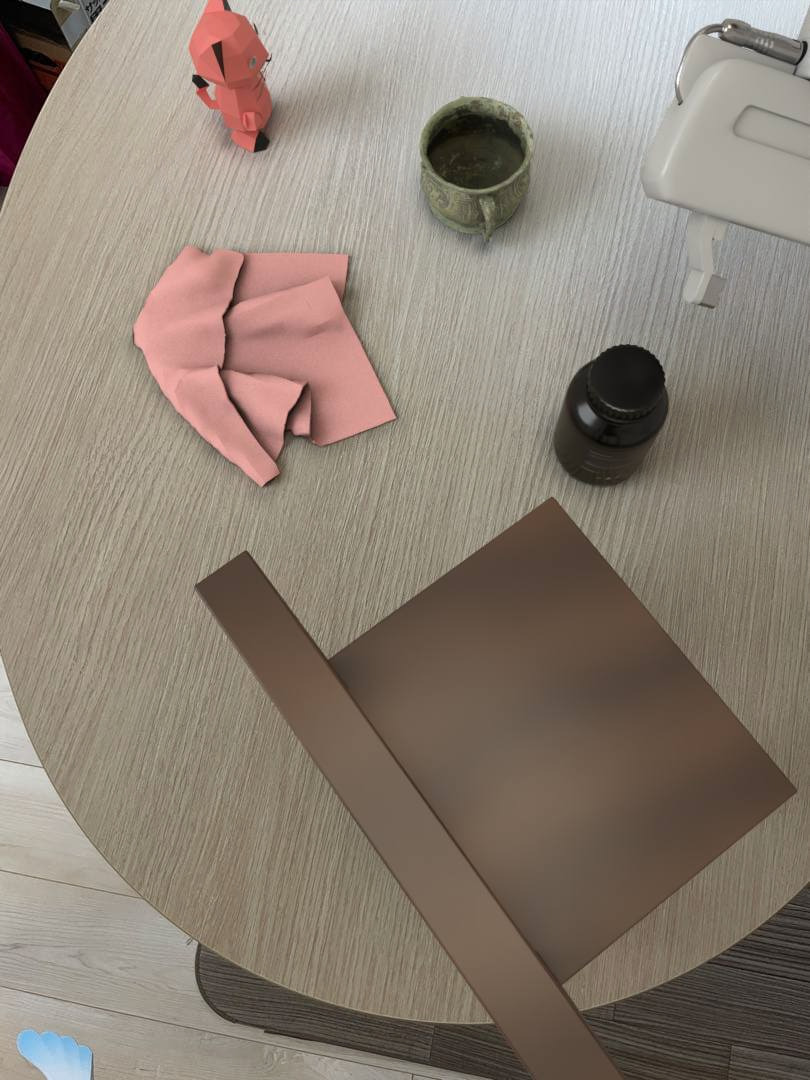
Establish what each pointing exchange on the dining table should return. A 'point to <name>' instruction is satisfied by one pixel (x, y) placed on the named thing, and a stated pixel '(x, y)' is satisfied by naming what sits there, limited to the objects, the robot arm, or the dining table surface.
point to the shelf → (517, 762)
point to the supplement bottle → (611, 415)
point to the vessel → (475, 163)
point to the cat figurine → (232, 72)
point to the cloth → (259, 353)
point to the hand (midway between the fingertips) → (770, 325)
